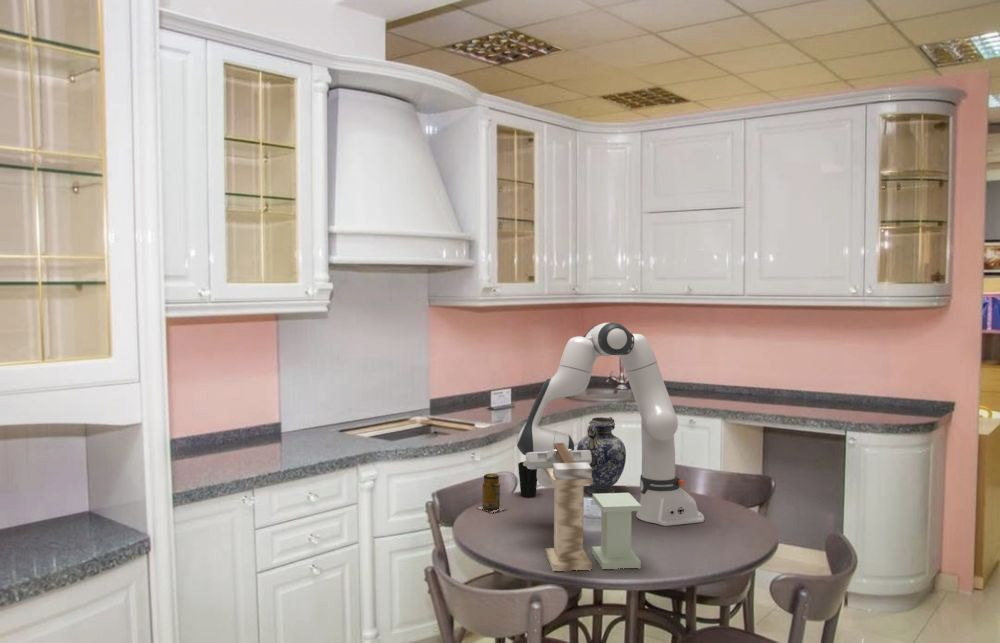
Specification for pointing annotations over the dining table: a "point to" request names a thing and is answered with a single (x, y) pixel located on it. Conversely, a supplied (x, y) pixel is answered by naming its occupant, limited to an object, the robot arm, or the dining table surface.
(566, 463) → the mallet
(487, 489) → the condiment
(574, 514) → the pedestal tall
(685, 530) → the dining table surface
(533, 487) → the cup
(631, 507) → the pedestal low
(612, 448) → the decorative vase
